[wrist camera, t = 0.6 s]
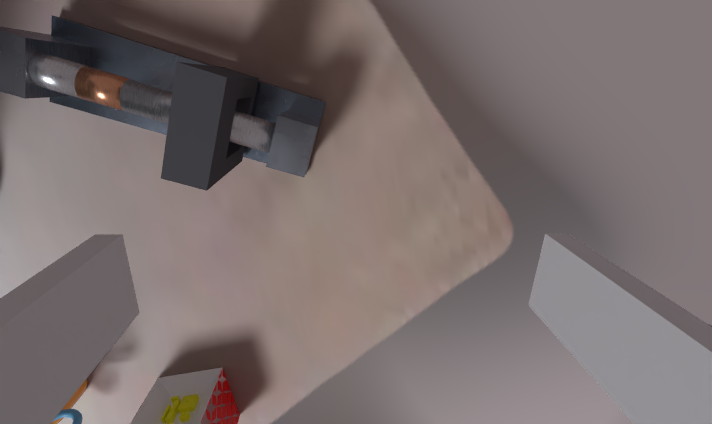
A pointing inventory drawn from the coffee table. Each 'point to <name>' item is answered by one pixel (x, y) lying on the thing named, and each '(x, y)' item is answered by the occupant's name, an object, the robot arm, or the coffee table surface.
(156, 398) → the red gray cube
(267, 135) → the rail
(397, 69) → the coffee table surface
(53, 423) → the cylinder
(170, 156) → the dark gray notched block
